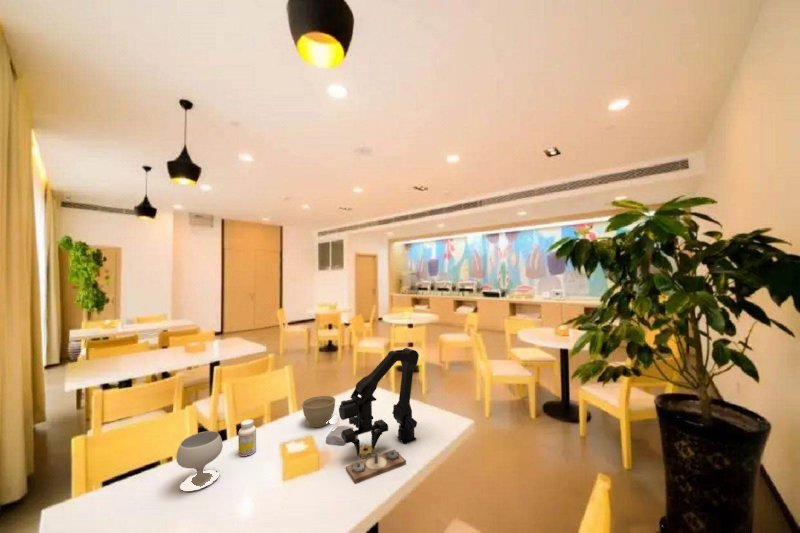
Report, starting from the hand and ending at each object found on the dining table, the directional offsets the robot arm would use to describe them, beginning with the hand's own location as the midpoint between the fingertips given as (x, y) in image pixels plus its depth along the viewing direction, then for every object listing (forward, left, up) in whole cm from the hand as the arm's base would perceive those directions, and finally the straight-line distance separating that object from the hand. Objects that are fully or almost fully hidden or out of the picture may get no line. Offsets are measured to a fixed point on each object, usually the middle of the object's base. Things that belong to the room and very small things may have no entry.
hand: (365, 451), depth 124 cm
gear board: (0, +10, -1) cm, 10 cm away
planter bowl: (+8, -38, -1) cm, 39 cm away
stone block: (+5, -18, -2) cm, 19 cm away
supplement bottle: (+41, -28, -1) cm, 50 cm away
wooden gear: (0, 0, -1) cm, 1 cm away
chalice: (+57, -17, -1) cm, 60 cm away
